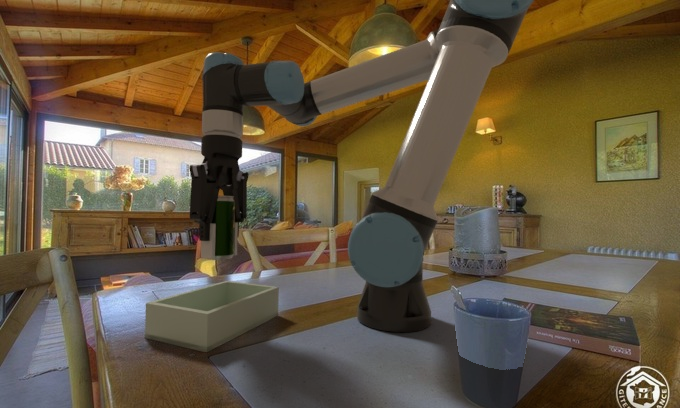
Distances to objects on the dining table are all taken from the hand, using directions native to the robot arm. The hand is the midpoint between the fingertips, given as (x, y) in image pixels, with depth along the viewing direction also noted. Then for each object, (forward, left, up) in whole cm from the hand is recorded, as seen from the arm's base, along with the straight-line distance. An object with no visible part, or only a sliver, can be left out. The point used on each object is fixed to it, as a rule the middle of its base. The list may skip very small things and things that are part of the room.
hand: (219, 256), depth 63 cm
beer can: (0, 0, 0) cm, 1 cm away
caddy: (0, 0, -13) cm, 13 cm away
